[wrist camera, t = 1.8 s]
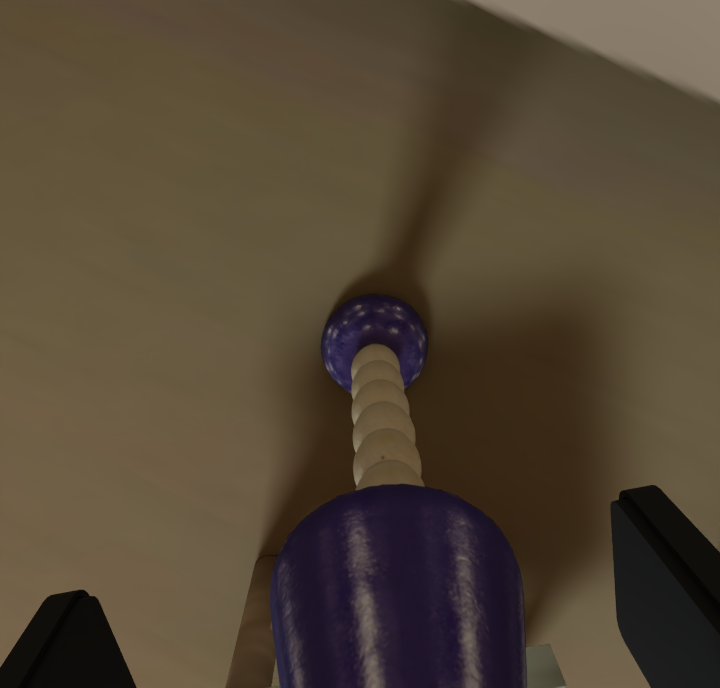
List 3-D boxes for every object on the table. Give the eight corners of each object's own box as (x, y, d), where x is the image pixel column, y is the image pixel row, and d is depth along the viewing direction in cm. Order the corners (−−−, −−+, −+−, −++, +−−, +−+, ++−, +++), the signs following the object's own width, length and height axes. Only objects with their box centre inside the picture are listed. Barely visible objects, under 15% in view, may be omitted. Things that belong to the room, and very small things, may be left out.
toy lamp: (450, 377, 23) (653, 864, 7) (348, 425, 24) (337, 964, 8) (398, 274, 22) (515, 603, 6) (292, 328, 22) (146, 751, 7)
